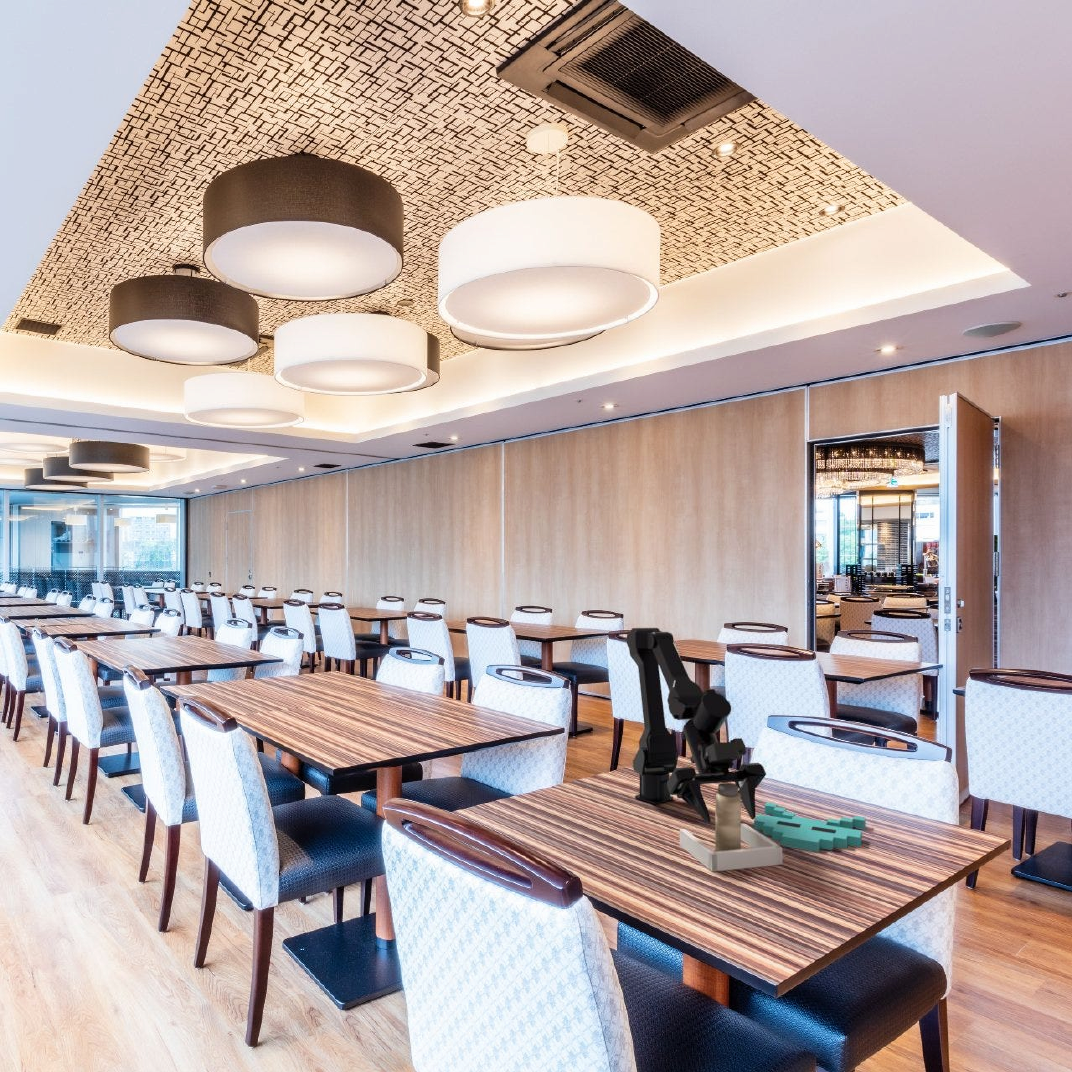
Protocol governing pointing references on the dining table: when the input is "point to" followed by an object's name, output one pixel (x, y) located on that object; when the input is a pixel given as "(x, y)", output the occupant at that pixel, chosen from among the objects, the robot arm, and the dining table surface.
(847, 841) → the alien figure
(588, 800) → the dining table surface
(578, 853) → the dining table surface
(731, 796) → the pepper mill
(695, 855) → the u-shaped frame
